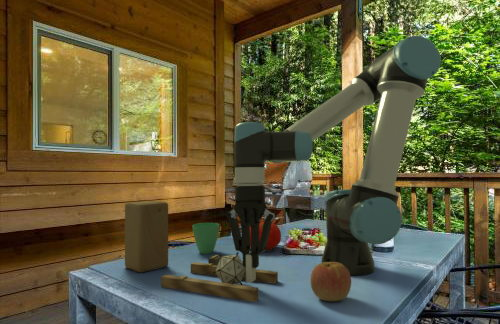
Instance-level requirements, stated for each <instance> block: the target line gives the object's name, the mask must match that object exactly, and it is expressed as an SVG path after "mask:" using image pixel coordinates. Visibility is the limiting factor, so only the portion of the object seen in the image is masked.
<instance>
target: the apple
mask: <svg viewBox="0 0 500 324" xmlns="http://www.w3.org/2000/svg"><path fill="white" fill-rule="evenodd" d="M351 276H352V275H350V273H349V271H348V269H347V268H346V267H345V266H344V265H342V264H340V263H337V262H324V263H318V264H317V265H315V266H314V267H313V269H312V270H311V274H310V286H311V290H312V293H313V294H314V295H315V296H316V297H317V298H318V299H319V300H322V301H326V302H339V301H343V300H344V299H346V298H347V297H348V295H349V293H350V291H351V288H352V277H351Z"/></svg>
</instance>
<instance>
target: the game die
mask: <svg viewBox="0 0 500 324" xmlns="http://www.w3.org/2000/svg"><path fill="white" fill-rule="evenodd" d="M218 257H220V260H219V263H218V266H217V268H216V271H213V272H212V273H216V274H217V276H216V277H218V279H219V280H220V282H222V283H229V284H236V285H243V286H244V284H243V283H242V280H243V279H242V278H243V275H244V273H245V270H246V267H243V259H241V258H240V256H239V251H236V254H230V255H229V254H228V255H222V254H221V253H218Z"/></svg>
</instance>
